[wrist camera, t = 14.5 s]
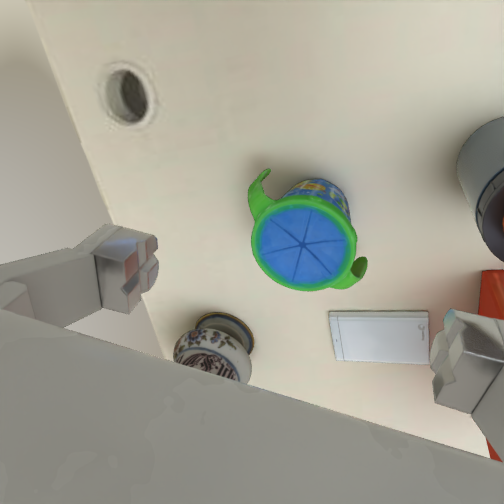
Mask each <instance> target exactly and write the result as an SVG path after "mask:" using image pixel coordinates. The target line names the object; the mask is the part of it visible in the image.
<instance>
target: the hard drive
mask: <svg viewBox="0 0 504 504" xmlns="http://www.w3.org/2000/svg"><path fill="white" fill-rule="evenodd" d="M329 321H330V327H331V333H332V339H333V345H334V351H335V356H336V361H357V362H376V363H399V364H419V365H429V319H428V312H330V313H329Z"/></svg>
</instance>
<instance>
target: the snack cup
mask: <svg viewBox="0 0 504 504" xmlns="http://www.w3.org/2000/svg"><path fill="white" fill-rule="evenodd" d="M270 172H271V169H266V170H265V171H263V172H262V173H261V174H260V175H259V176H258V178H257V179H256V180H255V181H254V182H253V183H252V184H251V185H250V187H249V189H248V203H249V207H250V210H251V213H252V215H253V218H254V220H255V224H254V227H253V231H252V236H251V247H252V251H253V255H254V257H255V259H256V261H257V263H258V265H259V266H260V268H261V269H262V270H263V271H264V272H265V274H266V275H268V276H269V277H270V278H271V279H272V280H274V281H275V282H277V283H279V284H281V285H283V286H285V287H288V288H291V289H295V290H299V291H317V290H322V289H326V288H328V287H330V288H335V289H346V288H349V287H351V286H352V285H354V284H355V283H356V282H358V281H360V280H361V279H362V278H363V276H364V274H365V272H366V269H367V262H368V261H367V258H366V257H359V258H358V259H356V260H355V261H354V259H355V255H356V242H357V235H356V232H355V229H354V228H353V227H352V225H351V219H350V212H349V207H348V202H347V200H346V198H345V196H344V195H343V193H342V191H341V190H340V189H339V188H337V187H336V186H334V185H333V184H331V183H329V182H327V181H325V180H323V179H318V180H314V179H313V180H306V181H303V182H300V183H298V184H297V185H295V186H294V187H293V188H292V189H291V190H289V191H288V192H287V193H286V194H285V195H284V196H283V197H282V198H281V199H279V200H272V199H270V198H269V197H268V196H266V195H265V193H264V190H263V187H262V184H261V182H262V181H263V180H264V179H265V178H266V177H267V176H268V175H269V173H270Z"/></svg>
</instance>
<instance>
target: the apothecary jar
mask: <svg viewBox="0 0 504 504" xmlns="http://www.w3.org/2000/svg"><path fill="white" fill-rule="evenodd" d="M253 347H254V338H253V335H252V333H251V331H250V329H249V328H248V327H247V326H246V325H245V324H244V323H243V322H242V321H240V320H239V319H237V318H235V317H233V316H231V315H228V314H225V313H209V314H207V315H204V316H203V317H201V318H200V319H199V320H198V322H197V323H196V326H195V330H192V331H189V332H187V333H185V334H184V335H183V336H182V337H181V338H180V339H179V340H178V341H177V343H176V345H175V348H174V353H173V358H174V362H176V363H179V364H182V365H186V366H189V367H192V368H196V369H199V370H202V371H205V372H209V373H212V374H215V375H219V376H222V377H225V378H228V379H232V380H235V381H238V382H242V383H245V384H247V383H248V381H249V379H250V377H251V372H252V365H251V360H250V357H249V354H250V353H251V352H252V350H253Z"/></svg>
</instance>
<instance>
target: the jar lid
mask: <svg viewBox="0 0 504 504" xmlns="http://www.w3.org/2000/svg"><path fill="white" fill-rule="evenodd" d="M477 211H478V214H477V217H478V224H479V228H480V230H481V235H482V238H483V240H484V242H486V245H487V246H488V248H489V249H490V251H491V252H492V253H493V254H494V255H495V256H496V257H497V258H499V259H500V260H501V261H503V262H504V233H503V226H502V224H503V218H504V171H503V172H502V173H500V174H499V175H498V176H497V177H496V178H495V179H494V180H493V181H492V182H490V184H489V186H488V187H487V188H486V190H485V192H484V193H483V195H482V197H481V200H480V202H479V206H478V208H477Z"/></svg>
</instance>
